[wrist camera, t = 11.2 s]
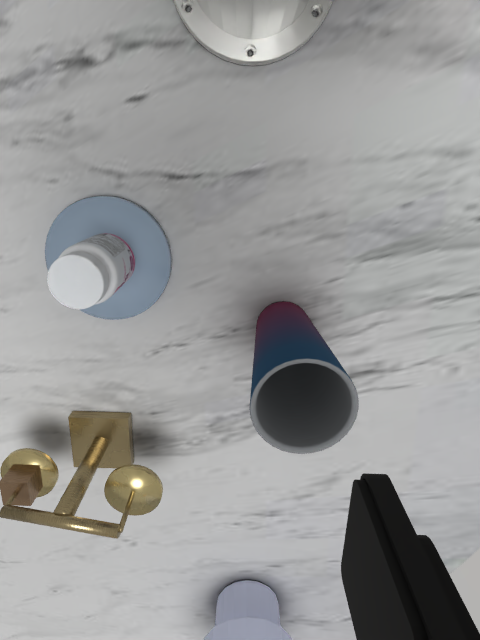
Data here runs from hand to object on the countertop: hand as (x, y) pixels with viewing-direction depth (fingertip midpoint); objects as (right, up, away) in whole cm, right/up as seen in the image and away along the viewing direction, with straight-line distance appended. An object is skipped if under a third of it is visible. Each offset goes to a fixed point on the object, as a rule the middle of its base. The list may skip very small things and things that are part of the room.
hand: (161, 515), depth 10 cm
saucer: (-10, +10, +29) cm, 32 cm away
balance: (-12, -8, +35) cm, 38 cm away
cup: (+6, +4, +31) cm, 32 cm away
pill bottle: (-10, +10, +28) cm, 31 cm away
